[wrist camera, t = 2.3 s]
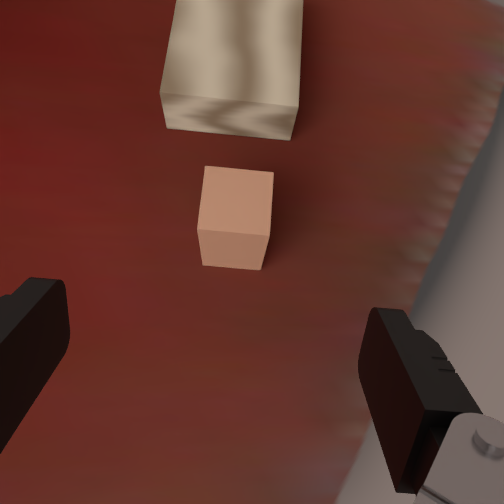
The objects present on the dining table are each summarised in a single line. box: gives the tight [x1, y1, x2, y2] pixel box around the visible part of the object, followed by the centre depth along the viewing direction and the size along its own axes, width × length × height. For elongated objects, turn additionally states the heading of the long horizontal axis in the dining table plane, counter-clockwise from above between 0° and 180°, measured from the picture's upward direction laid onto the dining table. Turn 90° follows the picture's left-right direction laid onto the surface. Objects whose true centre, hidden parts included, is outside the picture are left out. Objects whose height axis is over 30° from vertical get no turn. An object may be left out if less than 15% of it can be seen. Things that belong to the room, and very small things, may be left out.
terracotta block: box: [197, 166, 274, 270], centre depth 34 cm, size 5×5×8 cm
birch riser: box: [160, 0, 303, 141], centre depth 41 cm, size 12×16×5 cm
